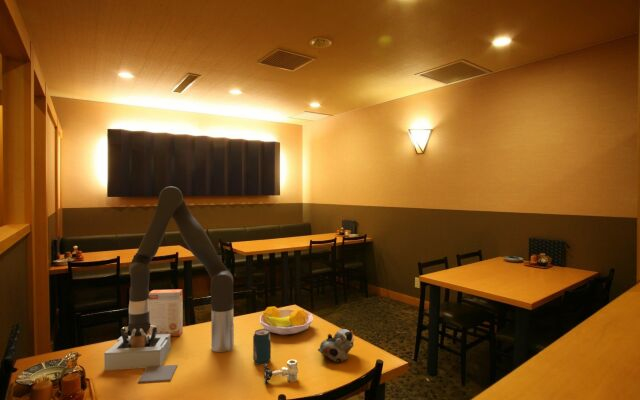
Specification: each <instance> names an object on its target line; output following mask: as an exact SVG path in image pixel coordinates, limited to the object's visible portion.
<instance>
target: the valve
mask: <svg viewBox="0 0 640 400" xmlns="http://www.w3.org/2000/svg"><path fill="white" fill-rule="evenodd" d="M298 373H299V369H298V361H297V360H296V359H290V360H289V359H288V361H287V362H286V367H285V366H283V367H281V369H276V370H274V371H273V370H271V369H270V368H269V365H268V363H267V364H263V374H264V375H263V378H264V384H265V385H269V381H270V380H271V378H272V377H273V376H275V377H276V376H279V375H280V376H282V377H286V380H287V381H288V382H289V383H293V382H297V380H298Z"/></svg>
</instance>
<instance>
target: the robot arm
mask: <svg viewBox="0 0 640 400" xmlns="http://www.w3.org/2000/svg"><path fill="white" fill-rule="evenodd" d="M171 219H173V221H174V222H175V225H176V226H177V229H178V231H179V234H180V236H181V237H182V239H183V242H184V243H185V245H186V246H187V248H188V249H189V252H191V254H192V255H193V257H195V259H197V260H198V261H199V262H200V263H201V265H203V267H204V268H205V270H206V272H207V273H208V275H209V277H210V280H211V281H210V305H211V306H210V310H211V311H210V312H211V313H210V314H211V319H210V320H211V321H210V322H211V323H210V324H211V329H210V332H211V337H210V338H211V343H210V344H211V350H212V351H213V352H215V353H224V352H229V351H233V350H234V345H235V344H234V343H235V333H234V332H235V323H234V276H233V274H232V273H231V271H230V270H229V268H227V267H226V265H225V264H224V263H223V261H222V260H221V258H220V256H219V255H218V252H217V250H216V249H215V247H214V245H213V243H212V241H211V239H210V237H209V235H208V234H207V233H206V230H205V229H204V228H203V227H202V225H201V224H200V223H199V222H198V220H197V219H196V218H195V217H194V215H193V214H192V213H191V211H190V209H189V208H188V206H187V203H186V201H185V199H184V196H183V193H182V191H181V190H180V188H178V187H176V186H166V187H164V188H163V189H161V191H160V193H159V196H158V202H157V206H156V209H155V212H154V215H153V217H152V219H151V222H150V223H149V226H148V227H147V230H146V231H145V234H144V235H143V238H142V240H141V242H140V245H139V247H138V250H137V251H136V253H135V254H134V256H133V258H132V259H131V261H130V263H129V266H128V273H129V276H130V287H129V304H128V326H122V327H121V328H120V334H121V336H122V338H123V342H124V343H128V344H129V348H131V337H133V336H139V335H142V336H145V342H146V344H145V347H150V342H152V341H153V340H154V339H155V336H156V332H157V328H158V325H155V326H153V325H151V324H150V303H149V293H150V289H149V285H150V278H151V277H150V275H151V270H150V267H149V266H150V264H151V262H152V260H153V258H154V257H155V256H156V255H157V253H158V251H159V248H160V246H161V244H162V242H163V239H164V236H165V233H166V230H167V228H168V225H169V222H170V220H171ZM149 329H151V331H152V335H151V338H150V337H149ZM128 331H129V332H130V333H131V335H129V334H128ZM146 333H147V335H146ZM128 336H130V339H129V337H128Z"/></svg>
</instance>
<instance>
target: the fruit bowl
mask: <svg viewBox="0 0 640 400" xmlns="http://www.w3.org/2000/svg"><path fill="white" fill-rule="evenodd" d="M313 321H314V318H313V313H310V312H308V311H305V310H304V309H291V308H290V309H289V308H283V309H278V307H276V306H267V307H266V308H265V310H264V311H263V313H262V314H261V315H260V316H259V322H260V325H261V326H262V327H263V329H266V330H268V331H269V333H275V334H277V335H281V336H286V335H291V334H298V333H301V332H303V331H306V330H308V328H309V327H310V325H311V324H312V323H313Z"/></svg>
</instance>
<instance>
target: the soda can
mask: <svg viewBox="0 0 640 400" xmlns="http://www.w3.org/2000/svg"><path fill="white" fill-rule="evenodd" d="M271 337H272V336H271V332H269V331H268V330H266V329H265V328H261V329H257V330H255V331H254V334H253V336H252V340H253V341H252V342H253V343H252V345H253V346H252V348H253V349H252V352H253V353H252V355H253V356H252V360H253V362H254V363H255V364H256V365H260V366H261V365H262V366H264V365H266V364H267V365H268V363H269V362H270V361H271V358H272V357H271V355H272V354H271V353H272V351H271V350H272V349H271V347H272V345H271V343H272V342H271V341H272V339H271Z"/></svg>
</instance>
